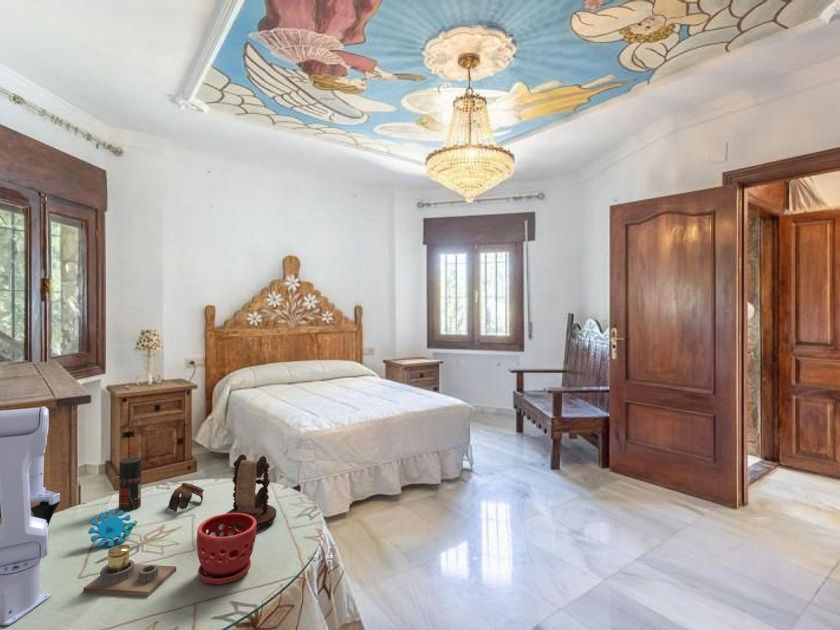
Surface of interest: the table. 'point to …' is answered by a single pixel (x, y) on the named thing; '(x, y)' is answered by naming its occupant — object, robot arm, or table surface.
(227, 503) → the table surface
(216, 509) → the table surface
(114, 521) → the gear
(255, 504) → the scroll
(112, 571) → the brass nipple
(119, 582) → the manifold board
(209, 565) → the plant pot
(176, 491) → the brown leather bracelet
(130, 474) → the deodorant
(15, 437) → the robot arm
